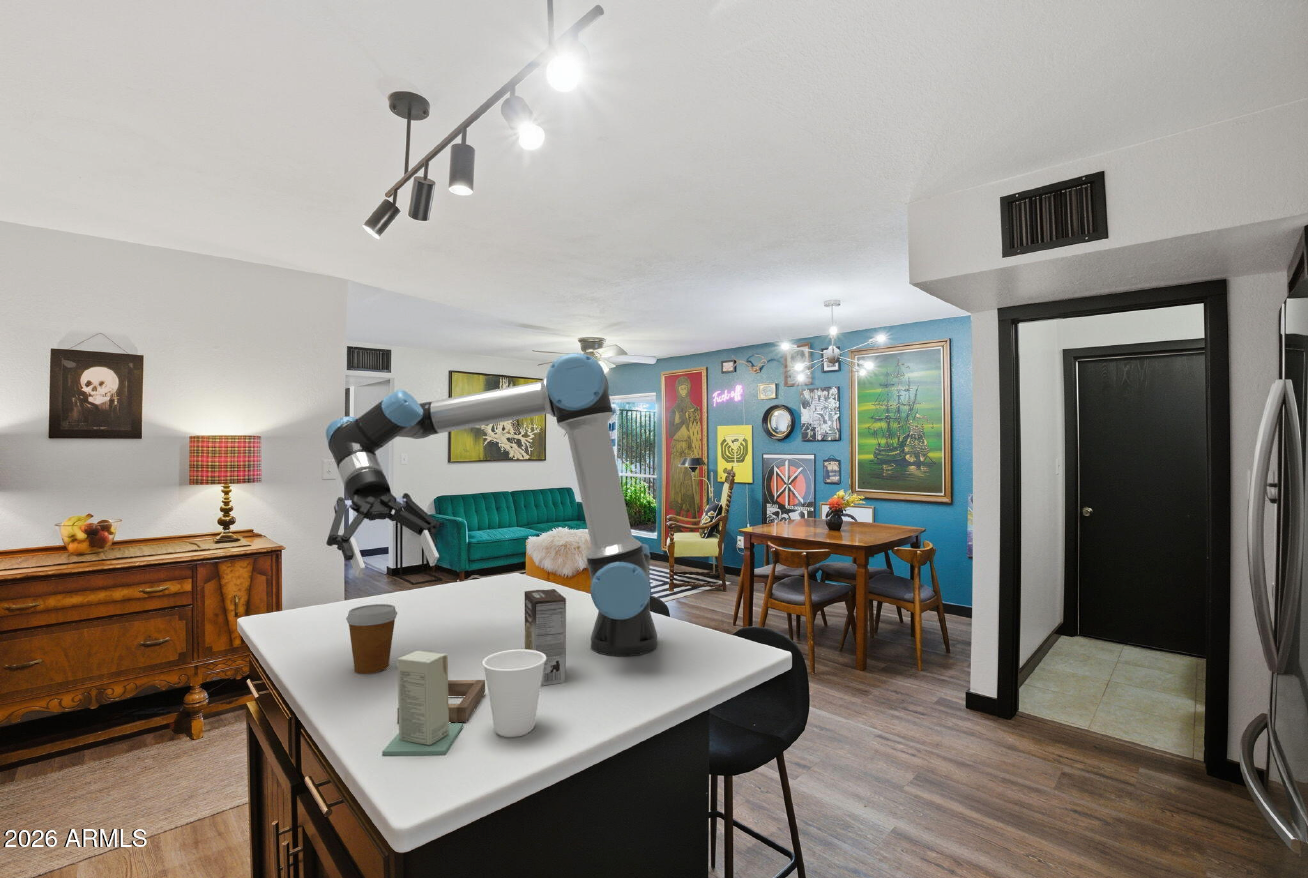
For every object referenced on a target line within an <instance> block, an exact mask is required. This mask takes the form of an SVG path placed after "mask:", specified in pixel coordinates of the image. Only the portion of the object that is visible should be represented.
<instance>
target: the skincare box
mask: <svg viewBox="0 0 1308 878" xmlns="http://www.w3.org/2000/svg"><path fill="white" fill-rule="evenodd" d="M448 655H449V654H447V653H441V652H435V651H434V652H433V651H425V650H415V651H413V652H411V653H408V654H405V655H404V656H403V655H402V656H401V657H398V658H397V692H398V693H397V696H398V698H397V699H398V704H397V705H398V706H397V710H398V709H399V724H398V733H399V739H400V740H405V741H410V742H415V743H421V744H427V745H431V744H433V743H434V742H436V741H438V740H439V739H441V738H442V737H444V736H446V735H447V734H449V706H448V704H449V697H448V680H449V668H448V666H449V664H448V663H449V662H448Z"/></svg>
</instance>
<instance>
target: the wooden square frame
mask: <svg viewBox="0 0 1308 878" xmlns="http://www.w3.org/2000/svg"><path fill="white" fill-rule="evenodd" d="M484 693H485V694H486V679H456V680H455V679H451V680H450V679H448V696H465V697H462V700H461V701H460V702H459V703H448V706H449V722H466V721H467V720H468V721H469V719H470V718H471V716H472V714H473V713H474V711H475V710H476V708H477V707H478V705H479V704H478V703H480V702H481V701H482V699H483V698H484V696H485V695H484ZM483 695H484V696H483ZM482 697H483V698H482ZM481 698H482V699H481ZM480 700H481V701H480ZM479 701H480V702H479ZM477 704H478V705H477ZM476 706H477V707H476ZM474 709H475V710H474ZM472 712H473V713H472ZM469 717H470V718H469ZM468 718H469V719H468ZM468 721H467V722H468ZM396 722H397V724H398V725H399V709H398V708H397V721H396ZM467 722H466V723H467Z"/></svg>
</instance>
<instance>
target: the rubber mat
mask: <svg viewBox="0 0 1308 878" xmlns="http://www.w3.org/2000/svg"><path fill="white" fill-rule="evenodd" d="M462 727H463V728H464V723H449V734H447V735H446V736H444V737H442V738H441V739H439V740H438V741H436V742H434V743H433V744H431V745H427V744H421V743H415V742H410V741H405V740H400V739H399V732H398V733H397V734H396V735H395V736H394V737H393V738H392V739H391V741H390V742H389V743H388V744H387V746H386V747H385V748H384V749H383V750H382V751H381V752H382V755H381V756H382V757H383V756H385V757H386V756H387V757H388V756H389V757H390V756H445V755H446V754H447V753H448V751H449V750H450V749H451V747H452V744H454V742H455V741H456V740H457V739H456V738H457V737H458V736H459V734H460V733H461V732H462V730H463V728H462ZM461 729H462V730H461ZM459 732H460V733H459ZM457 735H458V736H457Z"/></svg>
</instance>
